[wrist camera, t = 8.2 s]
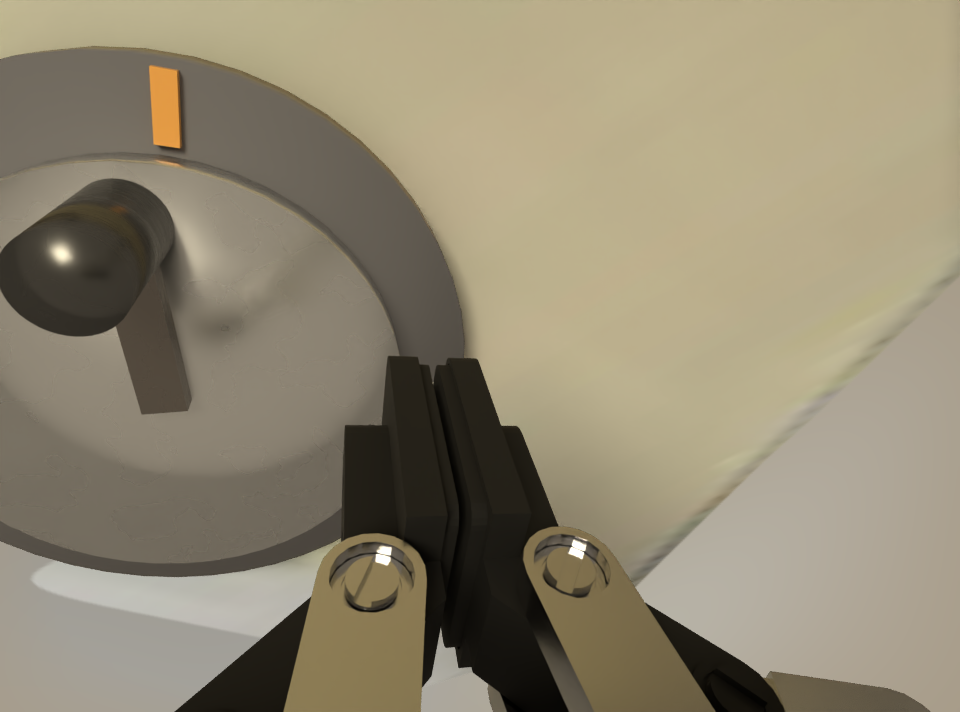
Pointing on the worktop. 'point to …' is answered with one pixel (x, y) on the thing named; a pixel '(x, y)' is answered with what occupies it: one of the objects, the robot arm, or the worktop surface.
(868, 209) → the worktop surface
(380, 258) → the dial base
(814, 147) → the worktop surface
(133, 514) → the dial
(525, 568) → the robot arm
